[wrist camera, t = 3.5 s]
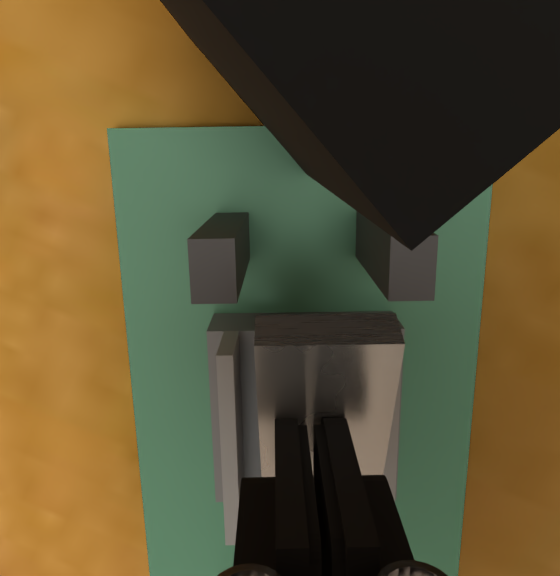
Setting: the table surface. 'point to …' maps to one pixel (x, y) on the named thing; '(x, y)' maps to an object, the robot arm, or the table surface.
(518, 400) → the table surface
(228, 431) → the board
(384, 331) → the grey long flat bar
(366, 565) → the robot arm
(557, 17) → the electrical component
